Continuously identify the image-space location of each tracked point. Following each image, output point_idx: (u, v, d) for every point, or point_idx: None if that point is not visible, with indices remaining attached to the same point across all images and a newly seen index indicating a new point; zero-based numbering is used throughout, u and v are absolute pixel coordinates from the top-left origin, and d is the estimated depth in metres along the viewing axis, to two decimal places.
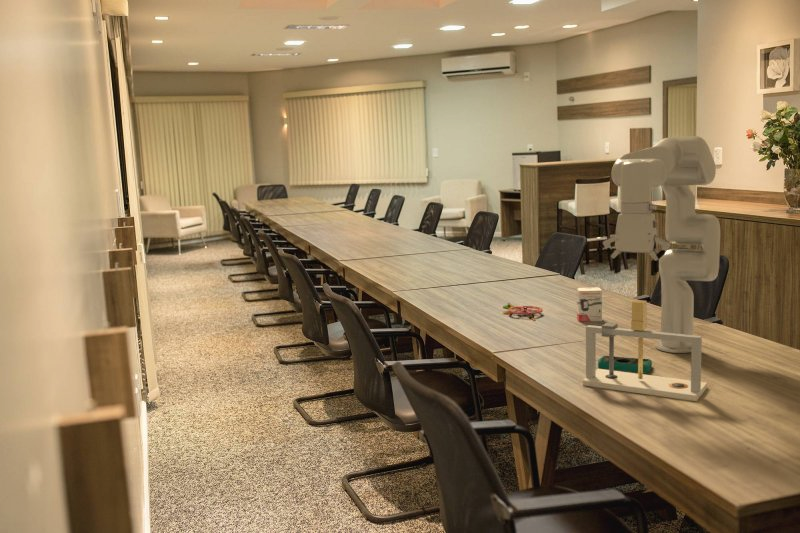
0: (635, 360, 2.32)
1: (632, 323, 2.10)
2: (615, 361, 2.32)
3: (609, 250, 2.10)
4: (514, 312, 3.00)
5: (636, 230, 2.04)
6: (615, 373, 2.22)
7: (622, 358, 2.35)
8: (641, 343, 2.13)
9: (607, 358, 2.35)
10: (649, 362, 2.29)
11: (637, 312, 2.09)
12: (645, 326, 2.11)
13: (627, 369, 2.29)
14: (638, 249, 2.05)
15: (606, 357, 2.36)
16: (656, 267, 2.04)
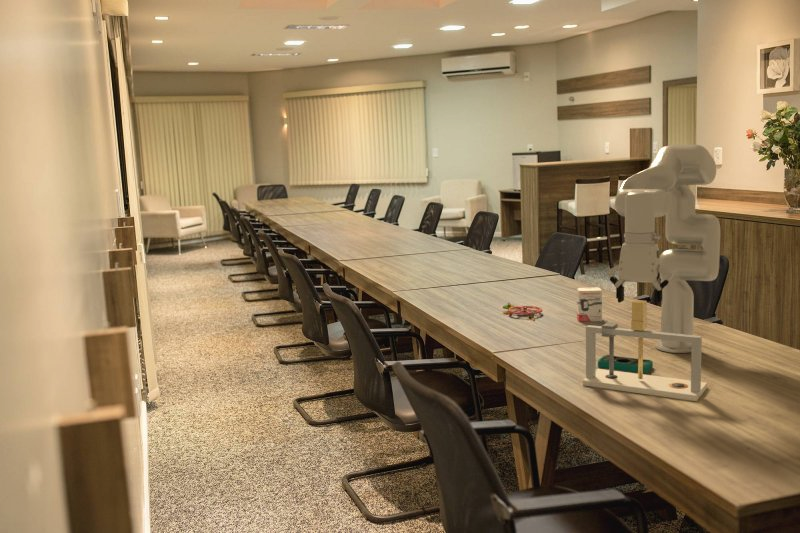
0: (636, 360, 2.32)
1: (632, 323, 2.10)
2: (615, 361, 2.32)
3: (613, 279, 2.12)
4: (514, 312, 3.01)
5: (640, 260, 2.05)
6: (615, 373, 2.22)
7: (623, 358, 2.35)
8: (641, 343, 2.13)
9: (608, 357, 2.36)
10: (649, 363, 2.28)
11: (637, 312, 2.09)
12: (645, 326, 2.11)
13: (625, 369, 2.29)
14: (642, 279, 2.06)
15: (608, 356, 2.37)
16: (659, 297, 2.06)
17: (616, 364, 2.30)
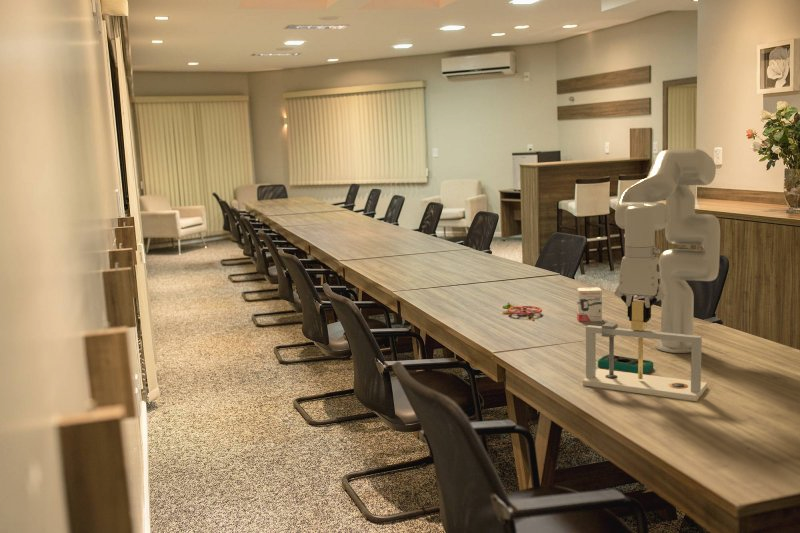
0: (636, 361, 2.31)
1: (632, 323, 2.10)
2: (615, 360, 2.33)
3: (624, 298, 2.11)
4: (513, 312, 3.01)
5: (640, 274, 2.06)
6: (615, 373, 2.22)
7: (625, 358, 2.35)
8: (641, 343, 2.13)
9: None
10: (648, 364, 2.28)
11: (637, 312, 2.09)
12: (645, 326, 2.11)
13: (624, 369, 2.29)
14: (642, 292, 2.07)
15: None
16: (648, 314, 2.08)
17: (615, 364, 2.31)
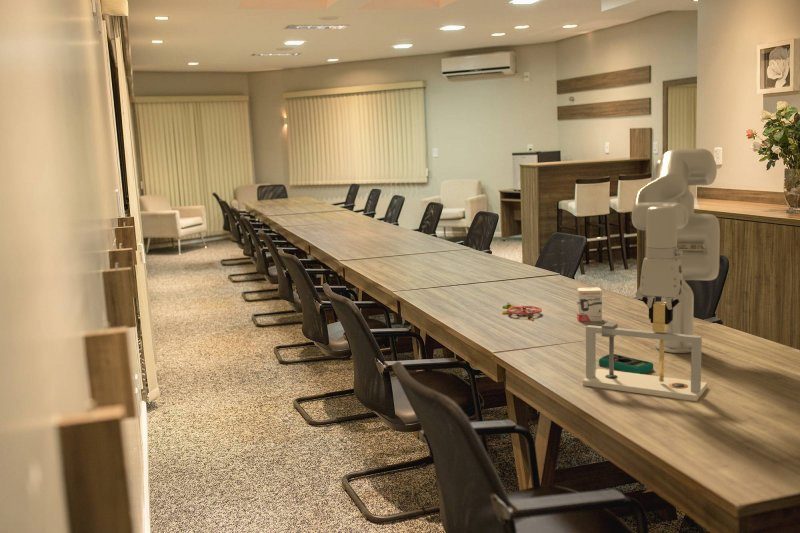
0: (636, 361, 2.31)
1: (653, 325, 2.07)
2: (615, 360, 2.33)
3: (645, 299, 2.08)
4: (513, 312, 3.01)
5: (662, 275, 2.03)
6: (615, 373, 2.22)
7: (627, 358, 2.34)
8: (662, 345, 2.10)
9: None
10: (646, 365, 2.27)
11: (659, 313, 2.06)
12: (667, 328, 2.08)
13: (622, 369, 2.29)
14: (664, 294, 2.04)
15: (614, 355, 2.38)
16: (670, 316, 2.05)
17: (614, 363, 2.31)
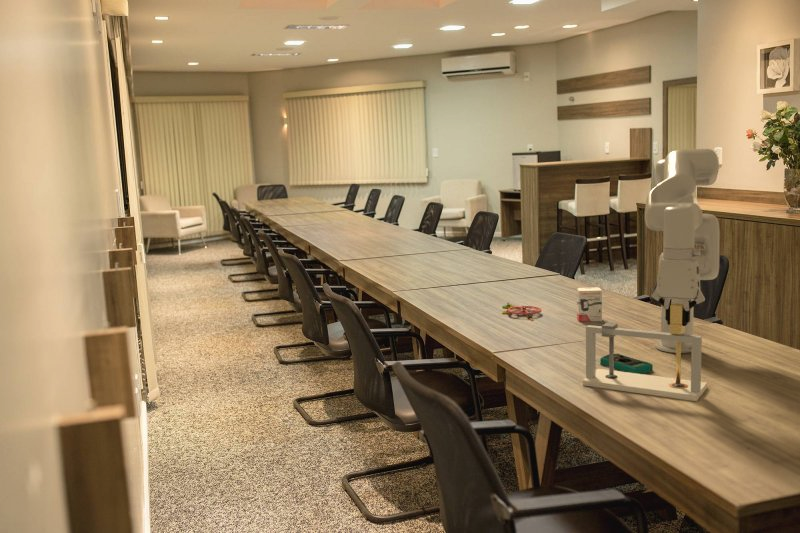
0: (636, 362, 2.30)
1: (670, 327, 2.05)
2: (616, 359, 2.33)
3: (662, 301, 2.06)
4: (512, 312, 3.01)
5: (679, 276, 2.01)
6: (615, 373, 2.22)
7: (628, 358, 2.34)
8: (679, 347, 2.07)
9: (615, 356, 2.37)
10: (644, 365, 2.26)
11: (676, 315, 2.04)
12: (684, 330, 2.05)
13: (620, 368, 2.29)
14: (681, 295, 2.02)
15: (616, 355, 2.38)
16: (687, 317, 2.03)
17: None
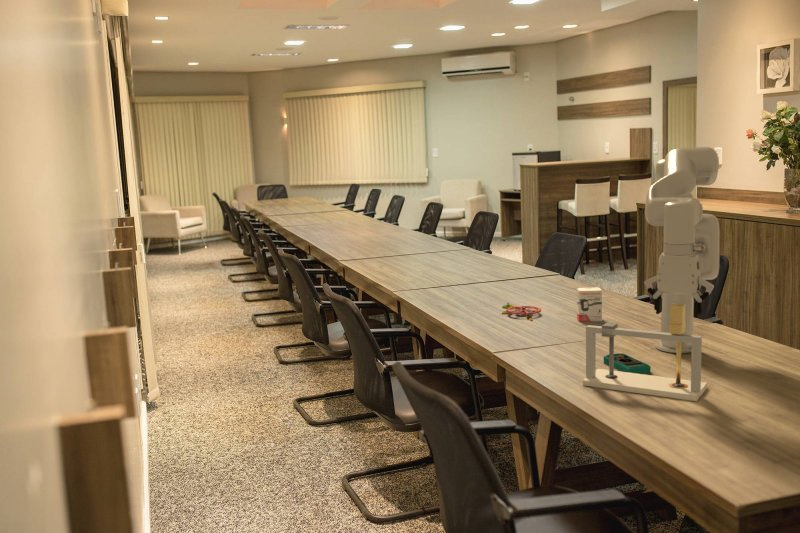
0: (635, 362, 2.30)
1: (671, 327, 2.04)
2: (617, 359, 2.34)
3: (651, 290, 2.07)
4: (512, 312, 3.01)
5: (679, 271, 2.01)
6: (615, 373, 2.22)
7: (631, 358, 2.34)
8: (679, 347, 2.07)
9: (619, 355, 2.37)
10: (640, 366, 2.25)
11: (676, 315, 2.04)
12: (684, 330, 2.05)
13: (618, 368, 2.30)
14: (681, 290, 2.02)
15: (621, 355, 2.38)
16: (700, 309, 2.01)
17: None
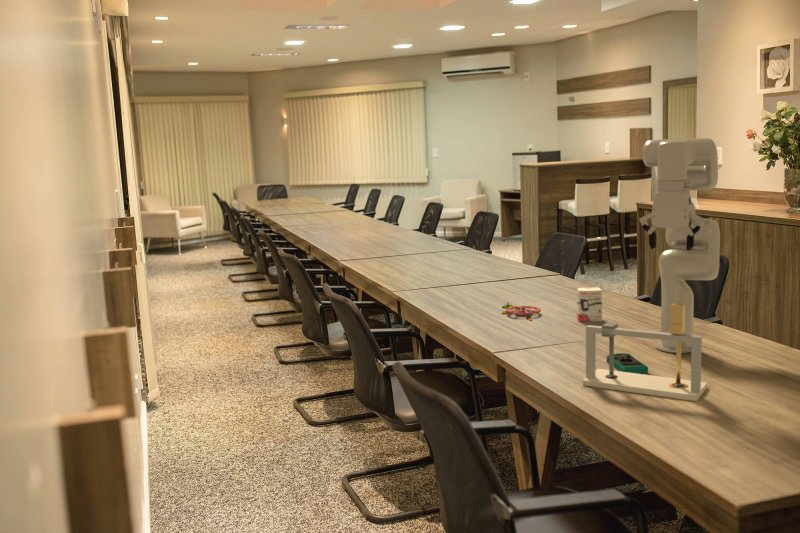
0: (634, 363, 2.29)
1: (671, 327, 2.04)
2: (618, 358, 2.34)
3: (645, 226, 2.20)
4: (511, 312, 3.01)
5: (672, 207, 2.14)
6: (615, 373, 2.22)
7: (632, 359, 2.33)
8: (679, 347, 2.07)
9: (623, 355, 2.37)
10: (636, 367, 2.25)
11: (676, 315, 2.04)
12: (684, 330, 2.05)
13: (617, 367, 2.31)
14: (674, 225, 2.15)
15: (625, 355, 2.38)
16: (691, 242, 2.14)
17: None
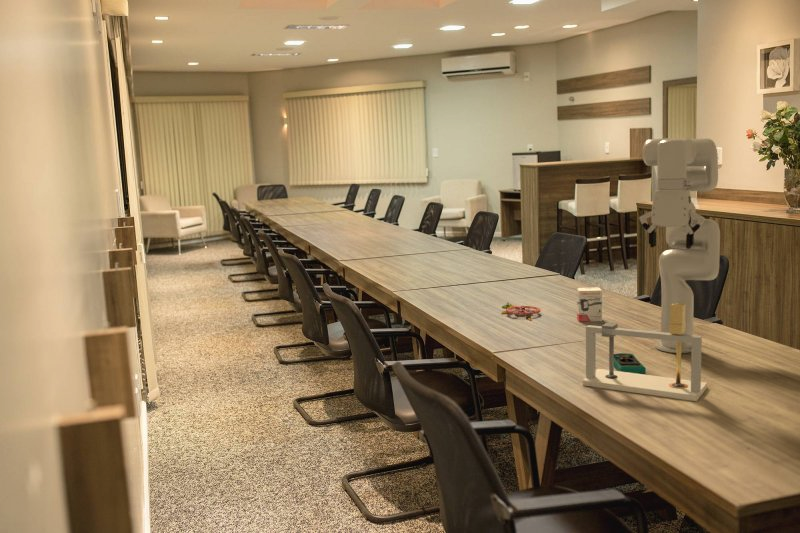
0: (633, 363, 2.29)
1: (671, 327, 2.04)
2: (620, 358, 2.34)
3: (645, 225, 2.21)
4: (511, 312, 3.01)
5: (672, 205, 2.14)
6: (615, 373, 2.22)
7: (634, 359, 2.33)
8: (679, 347, 2.07)
9: (626, 355, 2.37)
10: (633, 367, 2.25)
11: (676, 315, 2.04)
12: (684, 330, 2.05)
13: (616, 367, 2.31)
14: (674, 223, 2.15)
15: (629, 355, 2.38)
16: (691, 240, 2.15)
17: (614, 361, 2.34)
